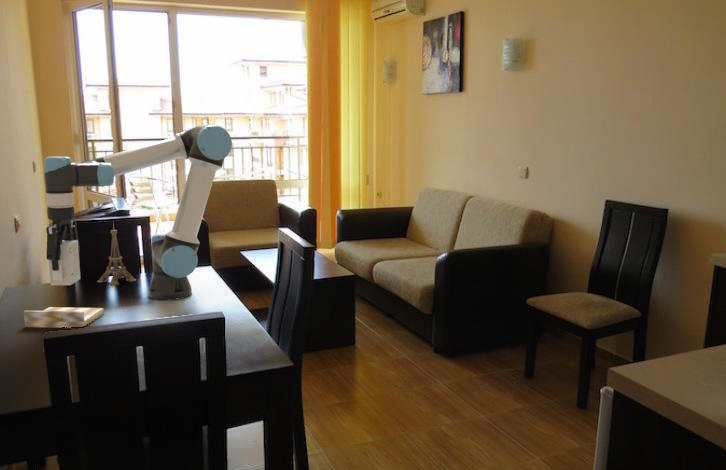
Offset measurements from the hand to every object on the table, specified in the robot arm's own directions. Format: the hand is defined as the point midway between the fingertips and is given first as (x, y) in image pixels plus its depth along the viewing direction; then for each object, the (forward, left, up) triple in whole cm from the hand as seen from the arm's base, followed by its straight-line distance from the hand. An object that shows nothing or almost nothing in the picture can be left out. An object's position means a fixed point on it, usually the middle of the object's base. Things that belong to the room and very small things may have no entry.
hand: (65, 276), depth 183 cm
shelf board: (0, +2, -14) cm, 14 cm away
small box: (0, 0, -2) cm, 2 cm away
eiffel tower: (+5, -47, -14) cm, 49 cm away
